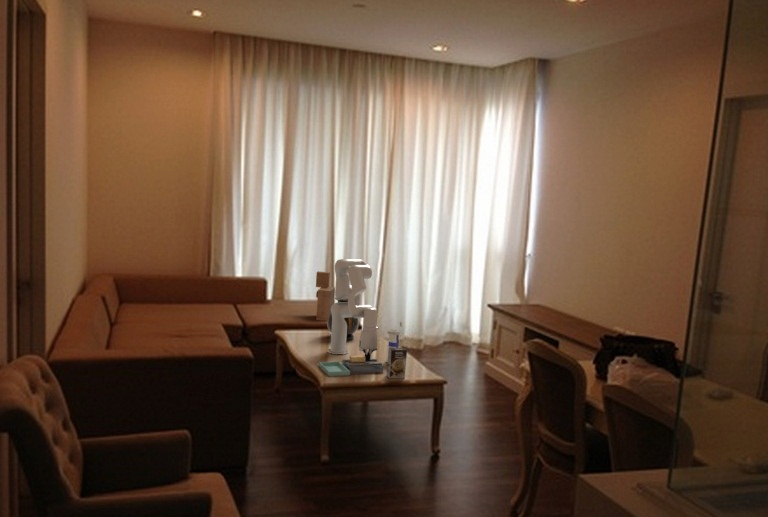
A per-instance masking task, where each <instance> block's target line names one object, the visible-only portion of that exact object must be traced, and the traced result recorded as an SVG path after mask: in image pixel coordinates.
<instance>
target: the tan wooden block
mask: <svg viewBox="0 0 768 517" xmlns="http://www.w3.org/2000/svg"><path fill="white" fill-rule="evenodd" d="M357 356H358V357H359V362H358V363H365V359H366V357H365V355H357Z"/></svg>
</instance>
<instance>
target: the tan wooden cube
mask: <svg viewBox="0 0 768 517" xmlns="http://www.w3.org/2000/svg"><path fill="white" fill-rule="evenodd" d="M358 356H359V355H349V359H350V360H349V363H358V362H359V357H358Z"/></svg>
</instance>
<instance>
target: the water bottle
mask: <svg viewBox="0 0 768 517" xmlns="http://www.w3.org/2000/svg"><path fill="white" fill-rule="evenodd" d="M399 327H401V328H402V327H403V323H402V322H399ZM386 333H387V334H388V339H387V341H388V345H387V348H386V358H385V363H386V362H388V352H389V348H400V347H399V346H400V338H399V337H401V331H397V330H396V329H388V330H387V331H386Z"/></svg>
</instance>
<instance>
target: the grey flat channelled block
mask: <svg viewBox="0 0 768 517" xmlns="http://www.w3.org/2000/svg"><path fill="white" fill-rule="evenodd" d="M349 360H350V358H349V359H343V360H342V361H341V364H342V365H344V366H345V367H346V368H347V369H348V370H349V371H350V375H356V373H361V374H375V373H374V372H383V373H384V365H383V362H379V361H378V358H370V361H366V360H365V363H349Z"/></svg>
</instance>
